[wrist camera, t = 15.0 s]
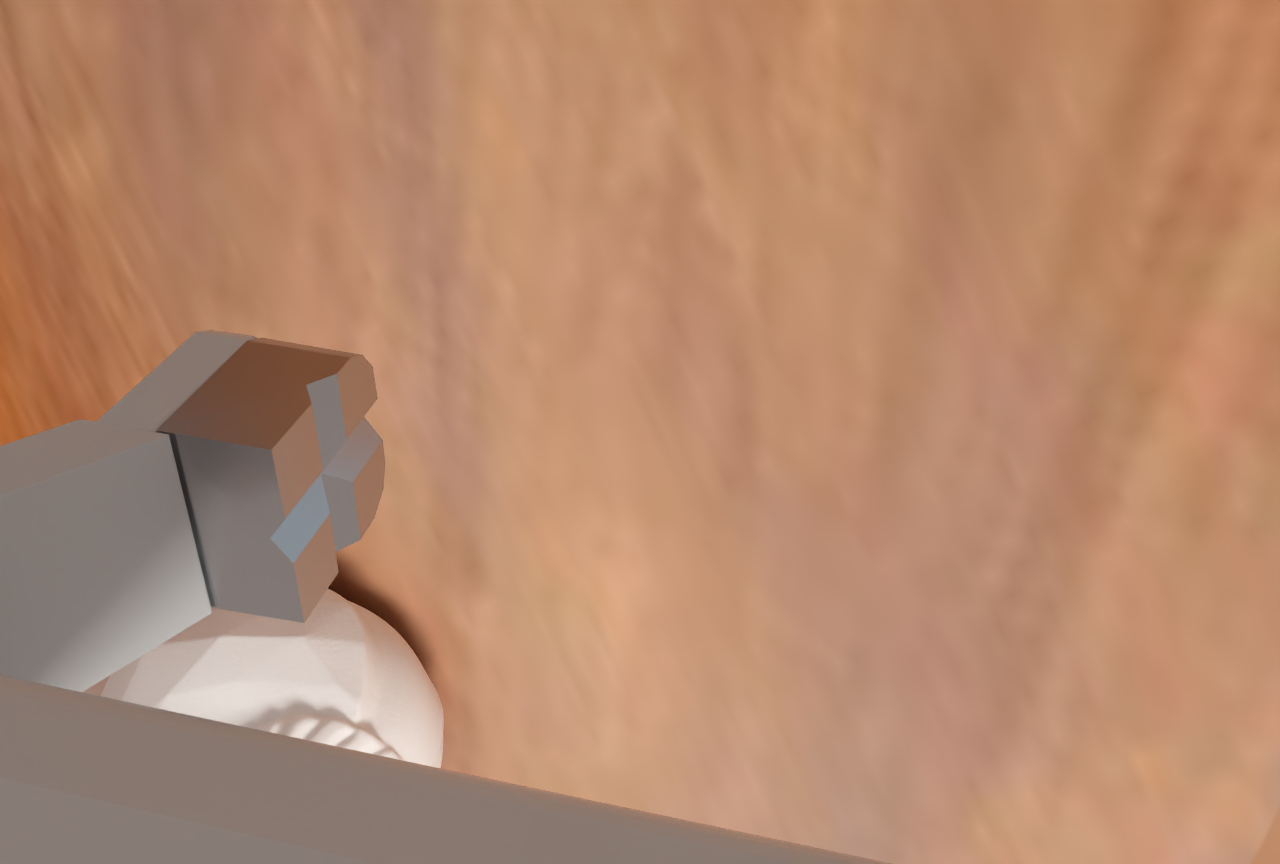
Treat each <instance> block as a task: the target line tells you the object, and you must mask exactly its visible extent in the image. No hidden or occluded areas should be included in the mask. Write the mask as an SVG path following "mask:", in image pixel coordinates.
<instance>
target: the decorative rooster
mask: <svg viewBox="0 0 1280 864" xmlns="http://www.w3.org/2000/svg"><path fill="white" fill-rule="evenodd" d="M83 693H88V694H92V695H97V696H102V697H107V698H111V699H116V700H121V701H125V702H130V703H135V704H140V705H144V706H149V707H154V708H158V709H163V710H168V711H172V712H177V713H182V714H187V715H191V716H196V717H201V718H205V719H210V720H215V721H220V722H224V723H229V724H234V725H238V726H243V727H248V728H252V729H257V730H262V731H267V732H271V733H276V734H281V735H285V736H290V737H295V738H300V739H304V740H309V741H314V742H318V743H323V744H328V745H332V746H337V747H342V748H347V749H351V750H356V751H361V752H365V753H370V754H375V755H379V756H384V757H389V758H394V759H398V760H403V761H408V762H412V763H417V764H422V765H427V766H431V767H436V768H440V767H441V762H442V754H443V721H444V720H443V709H442V705H441V701H440V698H439V696H438V693H437V691H436V689H435V687H434V686H433V684H432V682H431V680H430V679H429V677H428V675H427V673H426V671H425V670H424V668H423V666H422V664H421V663H420V661H419V659H418V658H417V656H416V654H415V653H414V651H413V650H412V649H411V647H410V646H409V645H408V644H407V642H406V641H405V640H404V639H403V638H402V636H401V635H400V634H399V633H398V632H397V631H396V630H395V629H394V628H393V627H391V626H390V625H389V624H388V623H387V622H386V621H384V620H383V619H381V618H380V617H378V616H377V615H375V614H374V613H372V612H370V611H369V610H367V609H365V608H363V607H361V606H359V605H357V604H355V603H353V602H350V601H348V600H346V599H345V598H343V597H342V596H340V595H339V594H337V593H335V592H334V591H332V590H330V589H327V590H326V592H325V593H324V595H323V596H322V598H321V599H320V601H319V602H318V603H317V605H316V606H315V608H314V609H313V611H312V612H311V614H310V615H309V617H308V618H307V620H306V621H305V623H301V622H295V621H289V620H283V619H276V618H270V617H264V616H258V615H252V614H246V613H240V612H234V611H228V610H222V609H216V608H212V613H211V614H209V615H208V616H206V617H204V618H203V619H201V620H200V621H198V622H196V623H195V624H193V625H191V626H190V627H188V628H186V629H185V630H183V631H182V632H180V633H178V634H177V635H175V636H173V637H172V638H170V639H168V640H167V641H165V642H164V643H162V644H160V645H159V646H157V647H155V648H154V649H152V650H150V651H149V652H147V653H146V654H144V655H142V656H141V657H139V658H137V659H136V660H134V661H132V662H131V663H129V664H128V665H126V666H124V667H123V668H121V669H119V670H118V671H116V672H114V673H113V674H111V675H110V676H108V677H106V678H105V679H103V680H101V681H100V682H98V683H96V684H95V685H93V686H91V687H90V688H88V689H87V690H85V691H83Z"/></svg>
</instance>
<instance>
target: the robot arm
mask: <svg viewBox="0 0 1280 864" xmlns="http://www.w3.org/2000/svg"><path fill="white" fill-rule="evenodd" d="M377 399H378V398H377V391H376V385H375V379H374V373H373V367H372V365H371V364H370V363H369V362H368V361H367V360H366V359H365V358H364V356H363V355H359V354H353V353H348V352H342V351H336V350H330V349H324V348H318V347H313V346H307V345H301V344H295V343H289V342H283V341H278V340H272V339H266V338H256V337H254V336H249V335H242V334H235V333H228V332H221V331H214V330H208V331H200V332H195V333H194V334H193V335H192V336H191V337H190V338H189V339H188V340H186V341H185V342H184V343H183V344H182V345H181V346H180V347H179V348H178V349H176V350H175V351H174V352H173V353H172V354H171V355H170V356H169V357H168V358H166V359H165V360H164V361H163V362H162V363H161V364H160V365H159V366H158V367H156V368H155V369H154V370H153V371H152V372H151V373H150V374H149V375H148V376H146V377H145V378H144V379H143V380H142V381H141V382H140V383H139V384H138V385H136V386H135V387H134V388H133V389H132V390H131V391H130V392H129V393H128V394H126V395H125V396H124V397H123V398H122V399H121V400H120V401H119V402H118V403H116V404H115V405H114V406H113V407H112V408H111V409H110V410H109V411H108V412H106V413H105V414H104V415H103V416H102V417H101V418H100V419H99V420H98V421H96V422H92V421H86V420H77V421H74V422H71V423H68V424H65V425H62V426H59V427H56V428H53V429H50V430H47V431H44V432H41V433H38V434H35V435H32V436H29V437H26V438H23V439H20V440H17V441H14V442H11V443H8V444H5V445H2V446H0V864H890V863H886V862H881V861H876V860H871V859H867V858H862V857H857V856H852V855H848V854H843V853H838V852H833V851H829V850H824V849H819V848H814V847H810V846H805V845H800V844H796V843H791V842H786V841H781V840H777V839H772V838H767V837H762V836H758V835H753V834H748V833H743V832H739V831H734V830H729V829H725V828H720V827H715V826H710V825H706V824H701V823H696V822H691V821H687V820H682V819H677V818H672V817H668V816H663V815H658V814H653V813H649V812H644V811H639V810H635V809H630V808H625V807H620V806H616V805H611V804H606V803H601V802H597V801H592V800H587V799H582V798H578V797H573V796H568V795H563V794H559V793H554V792H549V791H545V790H540V789H535V788H530V787H526V786H521V785H516V784H511V783H507V782H502V781H497V780H492V779H488V778H483V777H478V776H474V775H469V774H464V773H459V772H455V771H450V770H445V769H441V768H436V767H431V766H427V765H422V764H417V763H412V762H408V761H403V760H398V759H394V758H389V757H384V756H379V755H375V754H370V753H365V752H361V751H356V750H351V749H347V748H342V747H337V746H332V745H328V744H323V743H318V742H314V741H309V740H304V739H300V738H295V737H290V736H285V735H281V734H276V733H271V732H267V731H262V730H257V729H252V728H248V727H243V726H238V725H234V724H229V723H224V722H220V721H215V720H210V719H205V718H201V717H196V716H191V715H187V714H182V713H177V712H172V711H168V710H163V709H158V708H154V707H149V706H144V705H140V704H135V703H130V702H125V701H121V700H116V699H111V698H107V697H102V696H97V695H92V694H88V693H83V691H85V690H87V689H88V688H90V687H91V686H93V685H95V684H96V683H98V682H100V681H101V680H103V679H105V678H106V677H108V676H110V675H111V674H113V673H114V672H116V671H118V670H119V669H121V668H123V667H124V666H126V665H128V664H129V663H131V662H132V661H134V660H136V659H137V658H139V657H141V656H142V655H144V654H146V653H147V652H149V651H150V650H152V649H154V648H155V647H157V646H159V645H160V644H162V643H164V642H165V641H167V640H168V639H170V638H172V637H173V636H175V635H177V634H178V633H180V632H182V631H183V630H185V629H186V628H188V627H190V626H191V625H193V624H195V623H196V622H198V621H200V620H201V619H203V618H204V617H206V616H208V615H209V614H211V613H212V608H216V609H222V610H228V611H234V612H240V613H246V614H252V615H258V616H264V617H270V618H276V619H283V620H289V621H295V622H301V623H305V621H306V620H307V618H308V617H309V615H310V614H311V612H312V611H313V609H314V608H315V606H316V605H317V603H318V602H319V601H320V599H321V598H322V596H323V595H324V593H325V592H326V590H327V589H328V587H329V586H330V584H331V583H332V581H333V580H334V578H335V577H336V576H337V574H338V573H339V571H338V564H337V558H336V551H338V550H340V549H342V548H344V547H346V546H348V545H351V544H353V543H355V542H357V541H359V540H361V538H362V537H363V535H364V533H365V532H366V530H367V529H368V527H369V526H370V524H371V522H372V521H373V519H374V517H375V514H376V511H377V508H378V504H379V501H380V498H381V495H382V491H383V487H384V473H385V457H384V448H383V440H382V439H381V437H380V436H379V435H378V434H377V432H376V431H375V430H374V429H373V427H372V426H371V425H370V424H369V422H368V421H367V420H366V419H365V417H364V416H365V414H366V413H367V412H368V410H369V409H370V408H371V407H372V405H373V404H374V403H375V401H376V400H377Z"/></svg>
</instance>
